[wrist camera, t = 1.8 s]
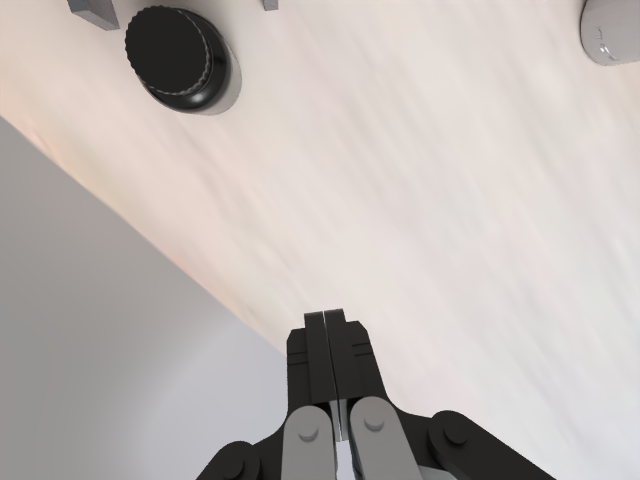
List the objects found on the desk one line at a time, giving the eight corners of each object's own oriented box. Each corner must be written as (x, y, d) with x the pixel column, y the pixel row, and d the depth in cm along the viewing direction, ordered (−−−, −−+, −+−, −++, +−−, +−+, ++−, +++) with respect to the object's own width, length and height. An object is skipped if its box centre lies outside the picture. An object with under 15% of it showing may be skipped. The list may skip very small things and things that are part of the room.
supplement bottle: (209, 130, 32) (170, 135, 21) (153, 72, 30) (76, 42, 18) (258, 82, 31) (246, 59, 20) (204, 18, 29) (156, -49, 17)
